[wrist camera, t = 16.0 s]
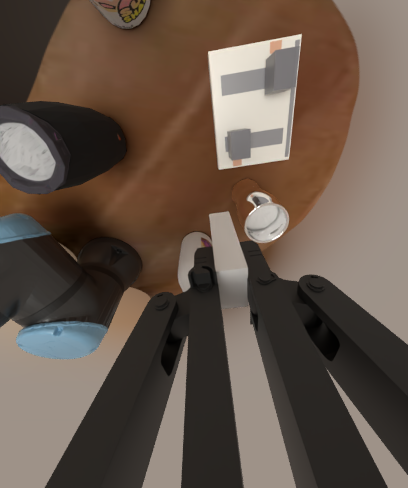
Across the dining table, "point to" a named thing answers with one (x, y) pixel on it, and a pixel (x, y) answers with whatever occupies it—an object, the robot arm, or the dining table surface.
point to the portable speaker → (56, 145)
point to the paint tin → (123, 11)
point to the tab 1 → (239, 144)
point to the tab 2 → (281, 70)
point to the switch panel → (250, 102)
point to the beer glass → (259, 212)
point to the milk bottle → (190, 255)
